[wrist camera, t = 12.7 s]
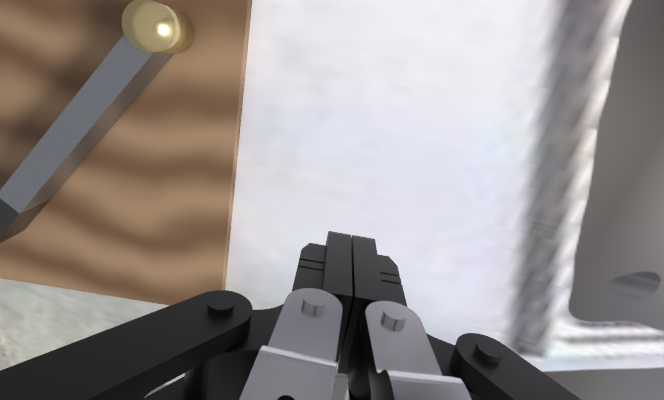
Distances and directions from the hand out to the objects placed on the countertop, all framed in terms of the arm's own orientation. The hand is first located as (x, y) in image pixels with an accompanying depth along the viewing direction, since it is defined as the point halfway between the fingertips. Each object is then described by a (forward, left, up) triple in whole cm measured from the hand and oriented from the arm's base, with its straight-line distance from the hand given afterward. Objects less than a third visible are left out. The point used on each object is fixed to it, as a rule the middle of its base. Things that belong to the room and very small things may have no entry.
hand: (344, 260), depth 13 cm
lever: (+4, -23, -25) cm, 34 cm away
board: (+6, -22, -27) cm, 35 cm away
